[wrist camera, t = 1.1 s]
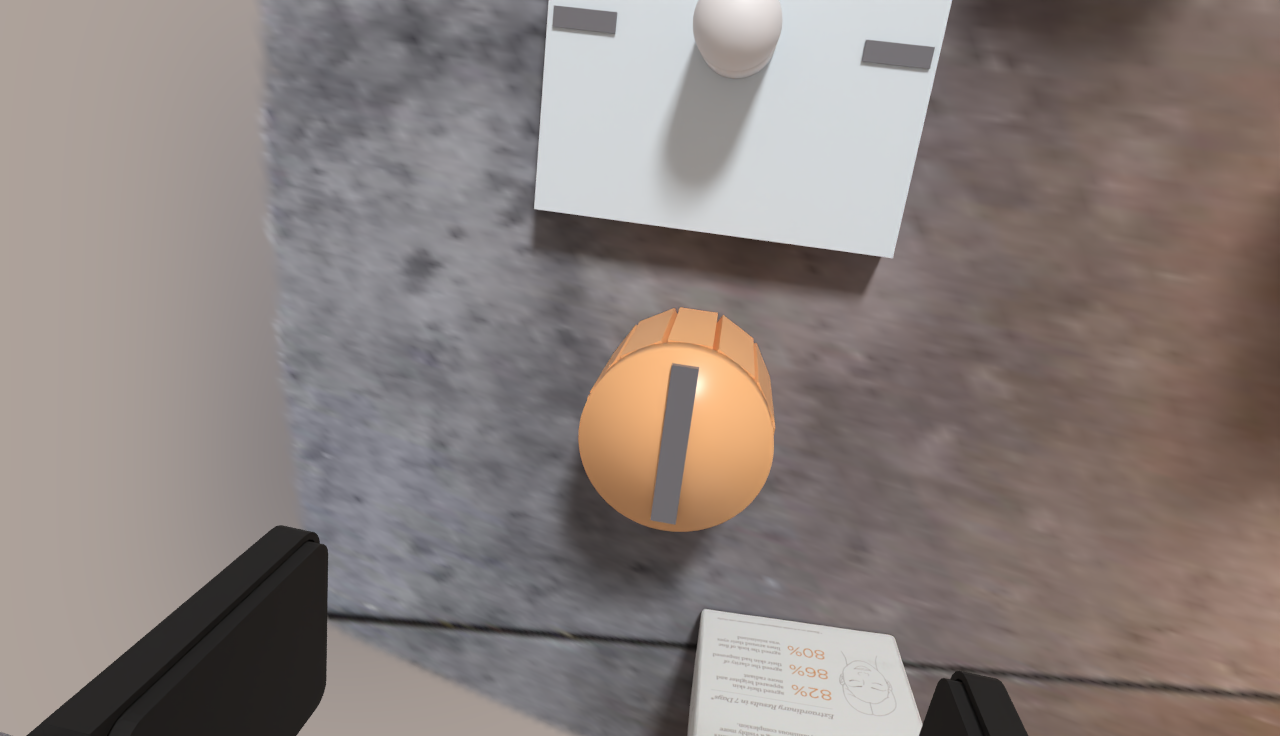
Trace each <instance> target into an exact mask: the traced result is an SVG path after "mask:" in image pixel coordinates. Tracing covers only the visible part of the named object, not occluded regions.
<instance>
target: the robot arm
mask: <svg viewBox="0 0 1280 736" xmlns="http://www.w3.org/2000/svg"><path fill="white" fill-rule="evenodd" d="M327 591H328V549H327V547H326V546H325V545H324V544H320V541H319V537H318V535H317V534H316V533H314V532H310V531H305V530H301V529H296V528H291V527H287V526H276V527H275V528H273V529H271V530H270V531H269V532H268V533H267V534H265V535H264V536H263V537H262V538H261V539H259V540H258V541H257V542H256V543H255V544H253V545H252V546H251V547H250V548H249V549H248V550H247V551H245V552H244V553H243V554H242V555H240V556H239V557H238V558H237V559H236V560H234V561H233V562H232V563H231V564H230V565H229V566H227V567H226V568H225V569H224V570H223V571H221V572H220V573H219V574H218V575H217V576H216V577H214V578H213V579H212V580H211V581H209V582H208V583H207V584H206V585H205V586H204V587H202V588H201V589H200V590H199V591H198V592H196V593H195V594H194V595H193V596H192V597H191V598H189V599H188V600H187V601H186V602H185V603H183V604H182V605H181V606H180V607H179V608H177V609H176V610H175V611H174V612H173V613H172V614H170V615H169V616H168V617H167V618H166V619H164V620H163V621H162V622H161V623H160V624H158V625H157V626H156V627H155V628H154V629H152V630H151V631H150V632H149V633H148V634H146V635H145V636H144V637H143V638H142V639H141V640H140V641H138V642H137V643H136V644H135V645H134V646H132V647H131V648H130V649H129V650H128V651H126V652H125V653H124V654H123V655H122V656H120V657H119V658H118V659H117V660H116V661H114V662H113V663H112V664H111V665H110V666H109V667H107V668H106V669H105V670H104V671H103V672H101V673H100V674H99V675H98V676H97V677H95V678H94V679H93V680H92V681H91V682H89V683H88V684H87V685H86V686H85V687H83V688H82V689H81V690H80V691H79V692H78V693H77V694H75V695H74V696H73V697H72V698H70V699H69V700H68V701H67V702H66V703H64V704H63V705H62V706H61V707H60V708H59V709H57V710H56V711H55V712H54V713H53V714H51V715H50V716H49V717H48V718H47V719H46V720H44V721H43V722H42V723H41V724H40V725H39V726H37V727H36V728H35V729H34V730H33V731H31V732H30V733H29V734H28V735H27V736H296V735H297V734H298V733H299V731H300V730H301V728H302V727H303V726H304V724H305V723H306V722H307V720H308V719H309V718H310V716H311V715H312V713H313V712H314V711H315V709H316V708H317V706H318V705H319V703H320V701H321V698H322V696H323V693H324V690H325V686H326V658H327ZM0 736H11V735H8V734H5V733H2V732H0ZM919 736H1028V734H1027V732H1026V730H1025V728H1024V726H1023V724H1022V722H1021V720H1020V718H1019V716H1018V713H1017V711H1016V709H1015V707H1014V705H1013V703H1012V701H1011V699H1010V697H1009V695H1008V693H1007V691H1006V688H1005V687H1004V685H1003V684H1002V682H1001V681H1000V680H998V679H995V678H990V677H986V676H981V675H976V674H972V673H967V672H962V671H956V672H955V673H954V674H953V675H952V677H951V679H945V678H943V679H941V680H940V681H939V682H938V684H937V686H936V689H935V692H934V695H933V698H932V700H931V703H930V706H929V709H928V712H927V714H926V717H925V720H924V723H923V725H922V728H921V731H920V734H919Z"/></svg>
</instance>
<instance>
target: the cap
mask: <svg viewBox="0 0 1280 736" xmlns="http://www.w3.org/2000/svg"><path fill="white" fill-rule="evenodd" d="M717 317H718V313H715V312H708V311H702V310H695V309H688V308H681V307H680V309H679V311H678V314H677V312H676V310H675V308H673V309H671V310H668V311H665V312H663V313H660V314H658V315H655V316H653V317H650V318H647V319H645V320H642V321H640V322H639V324H638V326H637V325H635V326H634V327H633V329H632V330H631V331H630V332H629V334H628V335H627V336H626V338H625V339H624V340H623V341H622V343H621V344H620V345H619V347H618V348H617V349H616V350H615V352H614V353H613V355H612V356H611V358H610V360H609V361H608V363H607V365H606V366H605V368H604V369H603V371H602V373H601V374H600V376H599V378H598V379H597V381H596V383H595V384H594V386H593V388H592V389H591V391H590V394H589V396H588V398H587V402H586V404H585V406H584V409H583V413H582V416H581V420H580V425H579V450H580V455H581V459H582V463H583V466H584V468H585V471H586V473H587V476H588V477H589V479H590V481H591V483H592V485H593V486H594V487H595V489H596V490H597V492H598V493H599V494H600V495H601V496H602V498H603V499H604V500H605V501H606V502H607V503H608V504H609V505H611V506H612V507H613V508H614V509H615V510H617V511H618V512H619V513H621V514H622V515H624V516H625V517H627V518H629V519H631V520H633V521H635V522H637V523H639V524H642V525H645V526H647V527H650V528H654V529H659V530H664V531H672V532H689V531H697V530H702V529H706V528H710V527H713V526H716V525H719V524H721V523H723V522H725V521H727V520H729V519H731V518H733V517H734V516H736V515H737V514H738V513H740V512H741V511H743V510H744V509H745V508H746V507H747V506H748V505H749V504H750V503H751V502H752V501H753V500H754V498H755V497H756V496H757V495H758V494H759V492H760V490H761V489H762V487H763V485H764V484H765V482H766V479H767V477H768V475H769V472H770V468H771V465H772V460H773V452H774V437H773V436H774V431H775V421H774V412H773V402H772V393H771V383H770V376H769V373H768V371H767V368H766V366H765V363H764V361H763V358H762V356H761V353H760V351H759V348H758V345H757V343H754V344H753V338H752V337H751V336H749V335H748V334H747V333H746V332H744V331H743V330H742V329H740V328H739V327H738V326H737V325H735V324H734V323H733V322H731V321H730V320H729V319H728V318H726V317H725V316H724V315H723V316H722V317H721V318H720V320H719V321H718V322H717Z"/></svg>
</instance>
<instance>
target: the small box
mask: <svg viewBox="0 0 1280 736" xmlns="http://www.w3.org/2000/svg"><path fill="white" fill-rule="evenodd" d="M922 725H923V724H922V722H921V718H920V715H919V712H918V709H917V706H916V703H915V700H914V696H913V693H912V691H911V688H910V685H909V681H908V678H907V675H906V672H905V669H904V666H903V663H902V660H901V657H900V654H899V650H898V647H897V644H896V640H895V638H894V637H893V636H892V635H887V634H879V633H871V632H864V631H857V630H850V629H842V628H835V627H829V626H822V625H815V624H807V623H801V622H794V621H787V620H780V619H773V618H766V617H759V616H751V615H743V614H736V613H729V612H722V611H715V610H709V609H704V610H703V611H702V613H701V620H700V628H699V636H698V643H697V650H696V658H695V666H694V674H693V684H692V693H691V702H690V712H689V724H688V735H687V736H919V734H920V731H921V728H922Z"/></svg>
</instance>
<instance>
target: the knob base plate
mask: <svg viewBox="0 0 1280 736" xmlns="http://www.w3.org/2000/svg"><path fill="white" fill-rule="evenodd" d="M951 3H952V0H549V4H548V18H547V32H546V47H545V61H544V75H543V90H542V104H541V118H540V133H539V147H538V161H537V176H536V190H535V204H534V209H538V210H545V211H553V212H560V213H567V214H574V215H582V216H589V217H596V218H604V219H611V220H618V221H625V222H633V223H640V224H647V225H655V226H662V227H669V228H676V229H684V230H691V231H698V232H706V233H713V234H720V235H728V236H735V237H742V238H749V239H757V240H764V241H771V242H779V243H786V244H793V245H800V246H808V247H815V248H822V249H830V250H837V251H844V252H851V253H859V254H866V255H873V256H881V257H888V258H893V255H894V250H895V246H896V242H897V237H898V233H899V229H900V224H901V220H902V216H903V211H904V207H905V203H906V198H907V194H908V190H909V185H910V181H911V177H912V172H913V168H914V164H915V159H916V155H917V151H918V146H919V142H920V137H921V133H922V129H923V124H924V120H925V116H926V111H927V107H928V103H929V98H930V94H931V90H932V85H933V81H934V77H935V72H936V68H937V64H938V59H939V55H940V51H941V46H942V42H943V38H944V33H945V29H946V24H947V20H948V16H949V11H950V7H951Z"/></svg>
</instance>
